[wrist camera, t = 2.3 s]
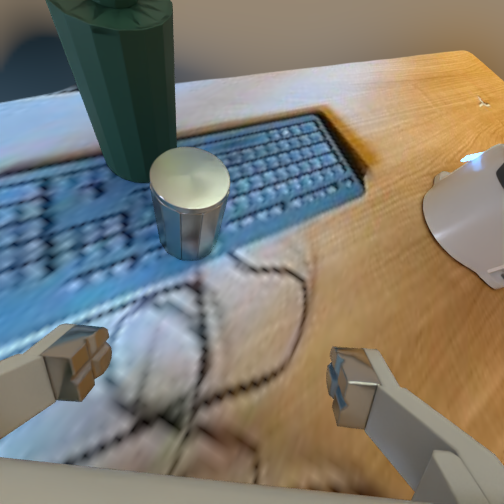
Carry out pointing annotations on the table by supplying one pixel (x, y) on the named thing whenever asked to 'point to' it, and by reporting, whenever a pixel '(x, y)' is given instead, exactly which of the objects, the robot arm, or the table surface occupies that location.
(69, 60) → the bottle
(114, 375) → the table surface
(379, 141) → the table surface
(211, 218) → the cap
